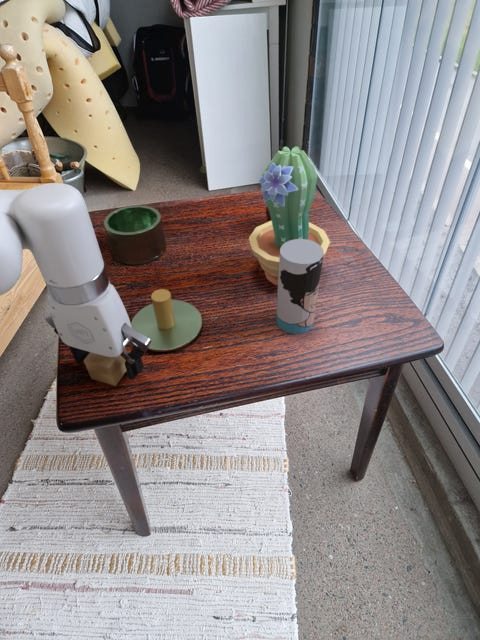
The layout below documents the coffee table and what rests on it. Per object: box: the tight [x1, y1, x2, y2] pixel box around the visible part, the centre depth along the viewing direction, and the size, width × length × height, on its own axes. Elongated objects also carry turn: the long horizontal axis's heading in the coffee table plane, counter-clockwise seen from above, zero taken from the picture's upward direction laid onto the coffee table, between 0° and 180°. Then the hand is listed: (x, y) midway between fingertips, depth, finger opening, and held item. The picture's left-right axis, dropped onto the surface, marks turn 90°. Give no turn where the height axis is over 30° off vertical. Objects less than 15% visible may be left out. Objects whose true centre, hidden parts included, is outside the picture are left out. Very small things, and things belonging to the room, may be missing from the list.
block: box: [83, 347, 127, 387], centre depth 66 cm, size 4×4×4 cm
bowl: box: [103, 204, 167, 266], centre depth 90 cm, size 12×12×8 cm
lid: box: [130, 288, 203, 353], centre depth 72 cm, size 13×13×8 cm
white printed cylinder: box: [275, 239, 324, 335], centre depth 70 cm, size 7×7×15 cm
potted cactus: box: [248, 145, 331, 286], centre depth 77 cm, size 15×15×25 cm
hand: (110, 365), depth 67 cm, fingers open, 9 cm apart
